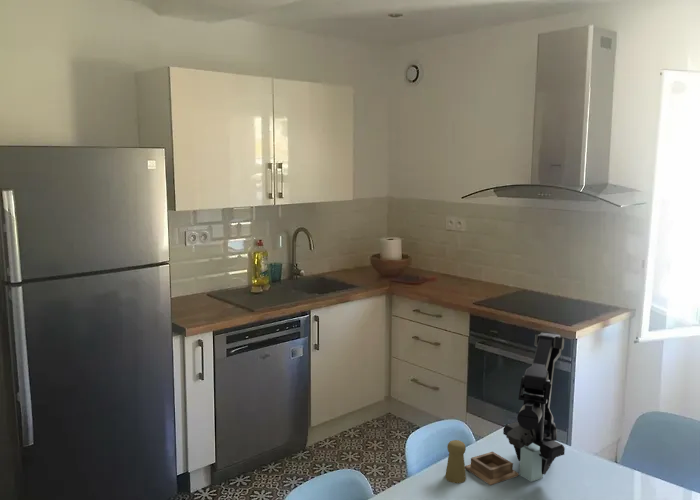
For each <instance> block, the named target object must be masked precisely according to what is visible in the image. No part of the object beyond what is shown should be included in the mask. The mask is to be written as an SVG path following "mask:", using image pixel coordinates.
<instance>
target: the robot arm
mask: <svg viewBox="0 0 700 500" xmlns="http://www.w3.org/2000/svg"><path fill="white" fill-rule="evenodd" d="M534 337H535V338H534V346H535V347H536V349H535V352H534V357H533V361H532V364H531V366H529V367H528V368H526V370H525V372H524V375H522V377H521V381H520V384H519V385H520V386H519V392H518V393H519V394H518V398H517V399H518V401H523V405H522V407H521V408H520V410H519V412H518V414H517V419H516V420H517V421H515V422H512V423H508V424H505V425H504V427H503V431H502V432H503V433H502V434H503V435H505V437H506V439H507V440H508V443H509V444H510V445H512V446H513V448H514V451H515V454H516V457H517V460H518V462H520V454H521V448H522V447H524V445H525V446H527V447H528V446H529V445H530V444H532V443H534V444H536V445H538V446H540V453H541V454H539V456H540V457H541V458H542V474H543V476H544V475H546V473H547V472H548V470H549V468H550V467H551V465H552V464H553V462H554V461H555V460H556V458H558V457H561V456H565V452H566V451H565V450H566V448H565V446H564V445H563V444H561V442H558V441H557V439H558V430H557V427H556V423H555V422H554V416H553V413H552V412H551V409H550V405H551V398H552V397H551V396H552V388H553V381H554V380H553V378H554V371H555V363H556V362H557V360H558V359H559V358H560V356H561V355H562V351H563V350H564V347H565V338H564V337H562V336H561V334H558V333H557V334H556V333H550V332H548V333H547V332H540V334H535V336H534Z"/></svg>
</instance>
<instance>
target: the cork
mask: <svg viewBox="0 0 700 500" xmlns="http://www.w3.org/2000/svg"><path fill="white" fill-rule="evenodd" d="M446 448H447V452H448V457H447V458H448V459H447V463H446V470H445V476H444V479H445V480H446V481H447V482H449V483H453V484H462V483H465V482H466V480H467V475H466V469H465V466H466V465H465V456H464V455H465V453H466V449H467V448H466V444H465V443H464V442H463V441H462V440H458V439H453V440H451V441H450V440H449V442H448V443H447V446H446Z"/></svg>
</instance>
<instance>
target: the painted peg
mask: <svg viewBox="0 0 700 500" xmlns="http://www.w3.org/2000/svg"><path fill="white" fill-rule="evenodd" d="M539 454H541V453H540V446H538V445H536V444H534V443H532V444H530V445H529V446H528V447H527V446H525V445H524V447H522V448H521V454H520V461H519V475H520V476H521V477H522V478H524V479H526V480H527V481H529V482H531V483H532V482H534V481H538V480H540V479H543V478H544V477H543V476H544V475H543V474H542V458H541V457H540V456H539Z"/></svg>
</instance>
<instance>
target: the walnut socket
mask: <svg viewBox="0 0 700 500" xmlns="http://www.w3.org/2000/svg"><path fill="white" fill-rule="evenodd" d="M466 470H467V471H468V472H469V473H471V474H472V475H474V476H476V477H477V478H479V479H480V480H482V481H483V482H485V483H486V484H488V485H489V486H492V485H495V484H498V483H501V482H504V481H506V480H507V481H508V480H510V479H513V478H517V477H519V475H520V472H518V471H516V470H514V463H513V462H512V461H510V460H508V459H506V458H505V457H503V456H501V455H500V454H498V453H496V452H494V451H489V452H487V453H483V454H480V455H477V456H474V457H471V458H470V464H467V465H465V471H466Z"/></svg>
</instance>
